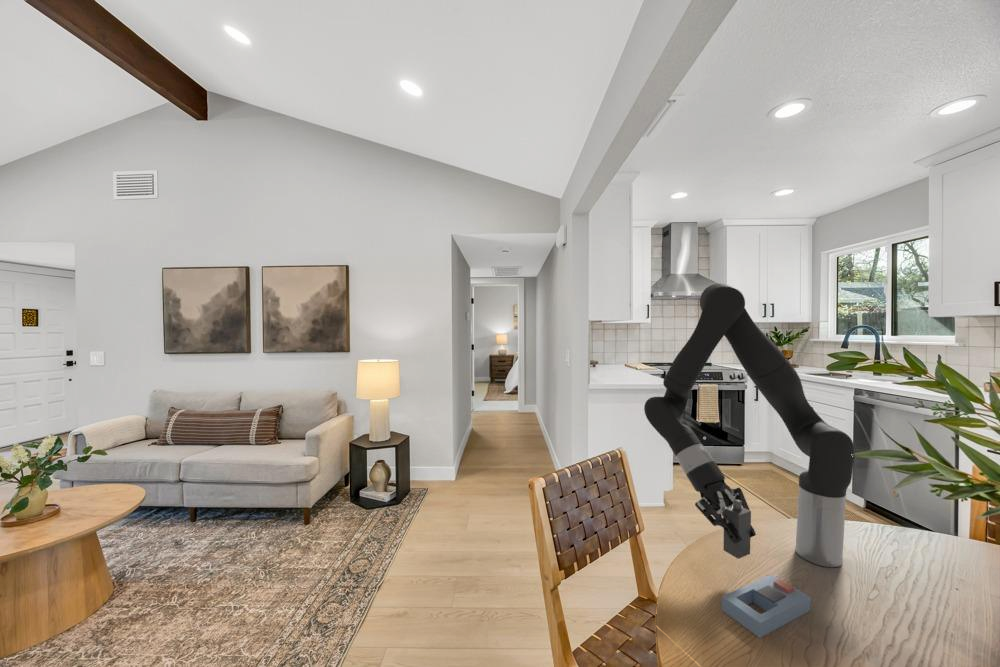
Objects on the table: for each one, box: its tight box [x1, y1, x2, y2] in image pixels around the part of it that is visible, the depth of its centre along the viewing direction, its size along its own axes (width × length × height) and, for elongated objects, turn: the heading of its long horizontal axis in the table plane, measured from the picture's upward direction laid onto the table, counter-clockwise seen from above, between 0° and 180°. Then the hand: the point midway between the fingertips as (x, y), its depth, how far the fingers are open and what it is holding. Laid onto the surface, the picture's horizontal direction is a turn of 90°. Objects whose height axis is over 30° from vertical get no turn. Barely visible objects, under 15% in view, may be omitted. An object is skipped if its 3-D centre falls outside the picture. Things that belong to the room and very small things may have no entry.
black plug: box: [723, 499, 752, 560], centre depth 95 cm, size 4×4×12 cm
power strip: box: [721, 573, 812, 639], centre depth 86 cm, size 16×8×4 cm, turn 115°
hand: (745, 538), depth 93 cm, fingers closed on black plug, 4 cm apart
